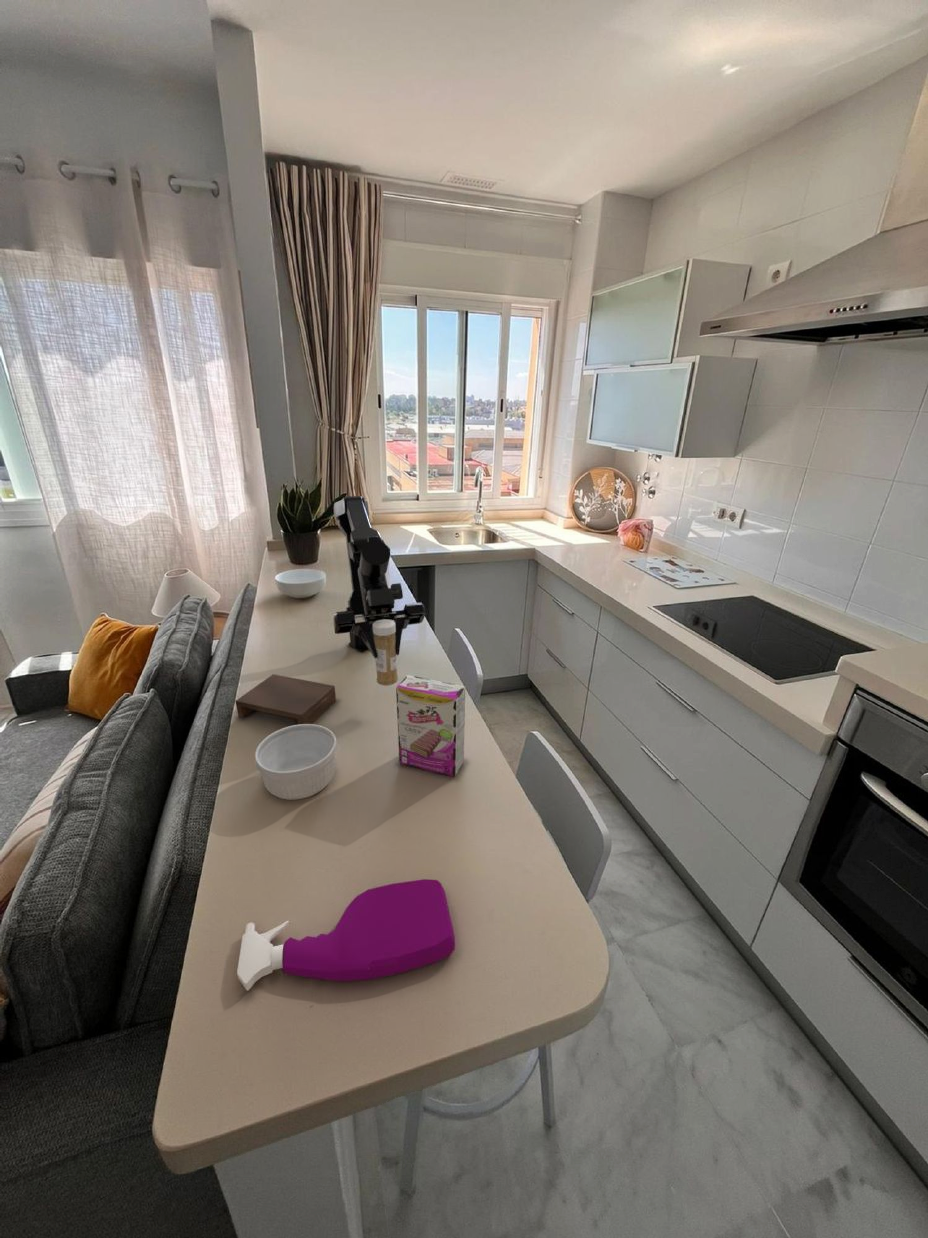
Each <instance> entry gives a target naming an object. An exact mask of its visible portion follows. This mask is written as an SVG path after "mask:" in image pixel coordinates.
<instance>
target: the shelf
mask: <svg viewBox="0 0 928 1238" xmlns="http://www.w3.org/2000/svg"><path fill="white" fill-rule="evenodd" d="M336 702H337V698H336V689H335V685H333V684H332V685H331V684H328V683H327V684H326V683H323V682H316V681H312V680H306V679H300V678H295V677H290V676H285V675H279V674H275V673H272V674H271V675H270V676H268V677H267V678H266V679H264V680H263V681H261V682H260V683H258V684H257V685H255V686H253V687H252V688H251V689H250V690H248V691H247V692H246V693H244V694H243V695H241V696H240V697H239V698H237V699H236V700H235V707H236V711H237V716H238V718H240V719H244V718H245V717H247V716H248V715H249V714H251V713H252V712H253V711H258V712H263V713H267V714H273V715H277V716H283V717H286V718H291V719H296V720H297V725H299V724H315V722H316V721H317V720H318V719H319V718H320V717H322V716H323V714H324V713H326V712H327V711H328V710H329V709H330V708H331V707H332V706H333V705H334V704H335V703H336Z"/></svg>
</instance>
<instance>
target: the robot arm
mask: <svg viewBox="0 0 928 1238" xmlns="http://www.w3.org/2000/svg"><path fill="white" fill-rule="evenodd" d="M369 511H370V510H369V503H368V500H366V499H365V497H364V496H361V495H351V496H349V495H348V496H344V497H342V499H341V500H339V501H335V502H334V504H333V516H334V520H335V521H337V525H338V529H339V530H340V532H341V534H343V535H344V537H345V543H346V551H347V559H348V566H349V567H348V568H349V574H350V583H351V590H352V591H351V594H350V595H349V598H348V600H347V607H346V608H345V610H343V611H336V612H335V613H334V614H333V629H334V634H335V635H339V634H341V635H342V634H349V643H348V646H350V647H352V648H353V649H356V650H357V651H359V652H361V653H363V652H365V651H368V650H369V652H370V653H371V655H372V656H373V658H374V659H375V658H377V652H376V648H375V641H374V634H373V623H374V622H375V621H378V620H382V619H388V620H392V621H394V622H395V627H396V631H395V646H396V656H399V655H400V649H401V641H402V634H403V631H404V630H405V629H407V628H408V626H413V625H418V624H422V623H423V621H424V619H425V617H426V615H427V611H426V607H425V605H424V604H423V603H422V602H413V603H405V604H404V606H403V609H402V610H393V609H395V603H396V602H395V601H397V600H402V599H403V598H404V594H403V588H402V583H401V582H399V583H392V584H391V585H390V587H389V586H388V581H387V576H386V574H387V572H388V568H389V563H390V562H389V561H390V558H391V548H390V546H388V544H387V543H386V541H385V540H384V539H382V537H381V534H380V533H379V531H378V530H377V529H375V528H373V527H372V526H371V523H370V520H369V516H370V512H369Z"/></svg>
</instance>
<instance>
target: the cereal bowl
mask: <svg viewBox="0 0 928 1238" xmlns="http://www.w3.org/2000/svg"><path fill="white" fill-rule="evenodd" d="M274 582H275V586H276V589H277V590H278V591H279V592H280V593H281V594H283V595H285V596H289V597H291V598H293V599H307V598H310V597H313V596H314V595H315V594H318V593H320V592H321V591H322V590H324V588H325V586H326V583H327V577H326V573H325V572H324V571H322V570H318V569H312V568H299V569H297V568H296V569H291V570H290V569H289V570H286V571H282V572H279V573H277V574H276V575H275V576H274Z"/></svg>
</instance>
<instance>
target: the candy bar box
mask: <svg viewBox="0 0 928 1238" xmlns="http://www.w3.org/2000/svg"><path fill="white" fill-rule="evenodd" d="M395 694H396V695H395V696H396V717H397V738H398V742H397V743H398V759H399V760H398V762H399V764H400V765H404V766H409V767H413V768H417V769H421V770H425V771H429V772H433V773H437V774H441V775H445V776H448V777H453V778H456V777H457V774H458V772H459V770H460V769H461V767H462V766H463V764H464V761H465V719H466V718H465V717H466V716H465V715H466V686H465V685H462V684H461V685H460V684H456V683H450V682H445V681H439V680H434V679H430V678H425V677H421V676H416V675H411V674H407V675H406V676H405V677H404V678H403V679H402V681H400V683H398V684H397V686H396V687H395Z"/></svg>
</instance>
